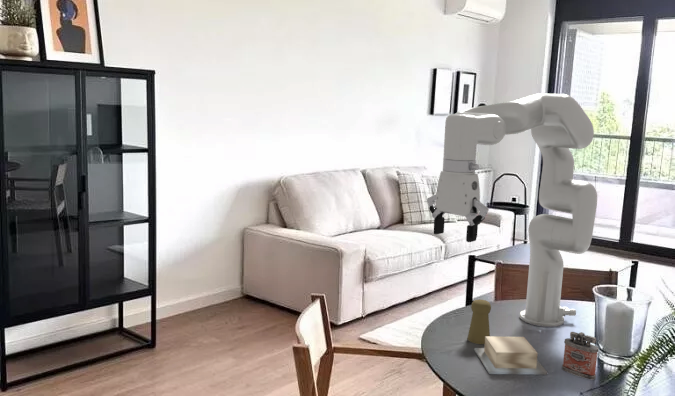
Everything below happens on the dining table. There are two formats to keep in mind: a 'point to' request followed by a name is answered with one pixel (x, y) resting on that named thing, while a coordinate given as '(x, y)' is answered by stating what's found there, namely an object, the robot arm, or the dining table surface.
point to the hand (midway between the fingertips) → (454, 237)
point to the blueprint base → (509, 356)
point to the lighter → (580, 355)
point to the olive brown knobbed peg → (479, 322)
